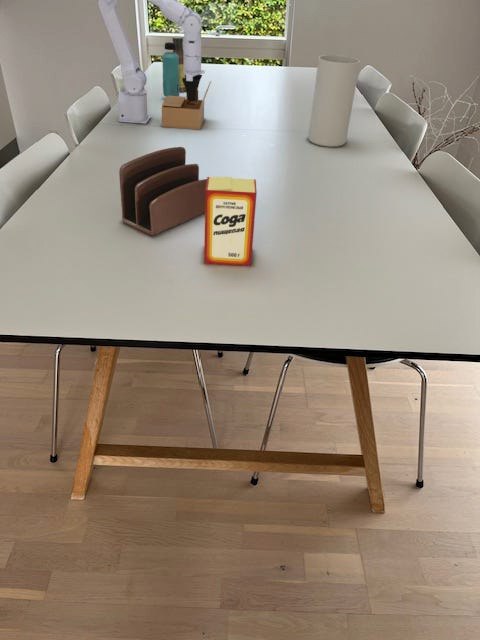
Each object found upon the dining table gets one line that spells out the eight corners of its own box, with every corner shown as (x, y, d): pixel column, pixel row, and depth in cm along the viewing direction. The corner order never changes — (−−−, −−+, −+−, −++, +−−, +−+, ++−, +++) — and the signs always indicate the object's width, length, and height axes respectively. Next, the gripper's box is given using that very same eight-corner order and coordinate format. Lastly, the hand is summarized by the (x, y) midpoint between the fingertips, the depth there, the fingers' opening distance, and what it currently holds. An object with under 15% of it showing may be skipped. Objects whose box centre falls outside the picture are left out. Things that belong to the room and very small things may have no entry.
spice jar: (185, 104, 180) (185, 89, 177) (187, 101, 184) (187, 86, 181) (197, 105, 180) (197, 90, 177) (198, 102, 184) (199, 87, 181)
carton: (204, 119, 191) (204, 98, 187) (199, 129, 181) (200, 107, 177) (168, 116, 191) (167, 95, 187) (162, 126, 181) (161, 104, 177)
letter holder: (121, 222, 121) (116, 161, 113) (183, 198, 134) (183, 141, 126) (152, 237, 116) (149, 174, 108) (213, 210, 129) (215, 152, 121)
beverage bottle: (178, 102, 208) (178, 44, 196) (161, 100, 208) (160, 43, 196) (180, 97, 213) (180, 41, 201) (164, 96, 213) (162, 40, 201)
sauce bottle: (188, 89, 225) (188, 36, 213) (185, 93, 220) (185, 38, 208) (173, 88, 225) (172, 35, 214) (170, 91, 220) (169, 37, 209)
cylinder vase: (344, 149, 172) (359, 64, 158) (306, 144, 174) (317, 60, 159) (346, 138, 182) (360, 57, 168) (309, 133, 184) (320, 53, 169)
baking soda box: (250, 250, 114) (255, 177, 105) (250, 265, 109) (256, 190, 99) (205, 248, 114) (207, 174, 104) (204, 263, 108) (205, 187, 99)
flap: (204, 98, 187) (204, 98, 187) (199, 107, 177) (200, 108, 177) (210, 80, 183) (211, 81, 184) (206, 89, 173) (207, 89, 173)
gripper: (202, 60, 167) (201, 105, 175) (207, 52, 179) (206, 95, 187) (179, 58, 167) (180, 104, 175) (185, 50, 179) (186, 93, 187)
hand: (192, 99), depth 181 cm, fingers closed on spice jar, 4 cm apart
